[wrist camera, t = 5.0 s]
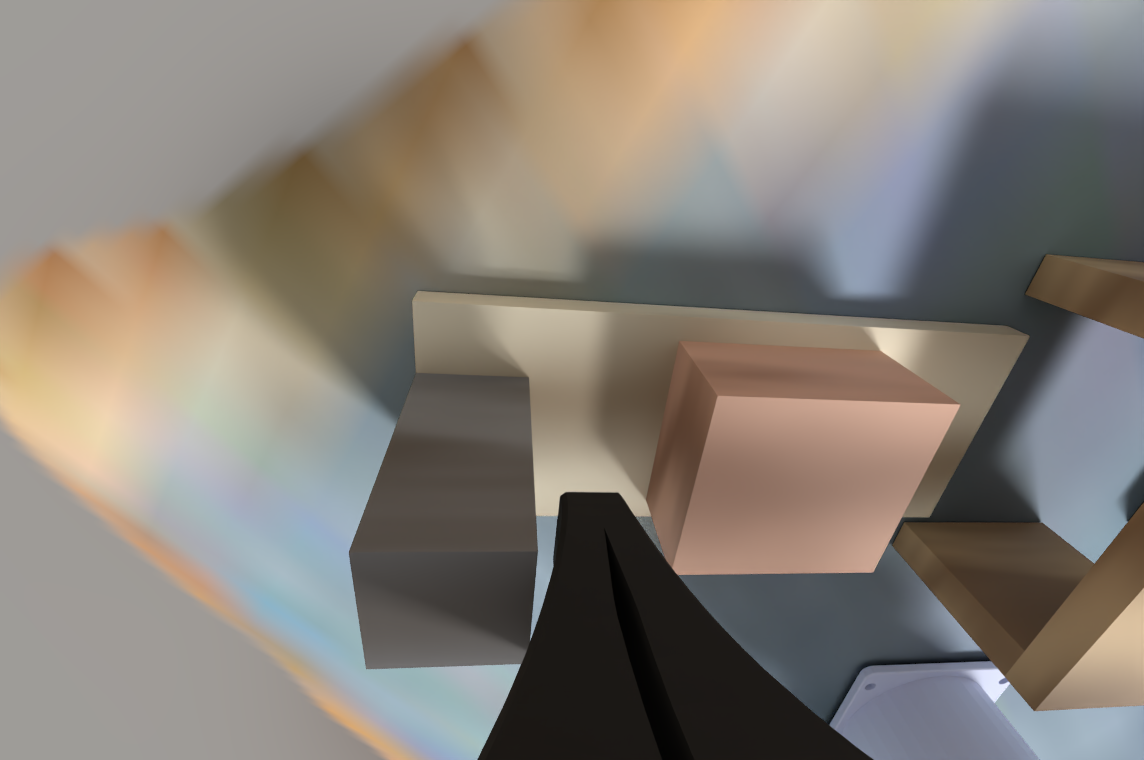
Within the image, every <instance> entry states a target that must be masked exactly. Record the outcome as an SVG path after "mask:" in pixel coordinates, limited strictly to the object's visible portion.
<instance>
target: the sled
mask: <svg viewBox="0 0 1144 760" xmlns="http://www.w3.org/2000/svg"><path fill="white" fill-rule="evenodd" d="M412 310H413V329H414V348H415V367H416V374H415V377H414V379H413V382H412V385H411V387H410V390H409V393H408V395H407V398H406V401H405V403H404V406H403V409H402V411H401V414H400V417H399V419H398V422H397V425H396V427H395V430H394V433H393V435H392V438H391V441H390V443H389V446H388V449H387V451H386V454H385V457H384V459H383V462H382V465H381V467H380V470H379V473H378V476H377V478H376V481H375V484H374V486H373V489H372V492H371V494H370V497H369V500H368V502H367V505H366V508H365V510H364V513H363V516H362V518H361V521H360V524H359V526H358V529H357V532H356V534H355V537H354V540H353V542H352V545H351V548H350V550H349V557H350V564H351V571H352V577H353V584H354V591H355V598H356V604H357V611H358V618H359V624H360V631H361V638H362V644H363V651H364V658H365V664H366V669H387V668H416V667H445V666H474V665H503V664H522V661H523V659H524V656H525V654H526V651H527V649H528V646H529V643H530V634H531V622H532V611H533V600H534V588H535V577H536V566H537V554H538V546H537V526H536V516H558V510H559V501H560V496H561V495H562V494H564V493H565V492H618V493H619V494H620V495H621V496H622V497H623V498H624V500H625V502H626V503H627V505H628V506H629V508H630V509H631V511H632V512H633V514H634V516H651V517H652V520H653V523H654V526H655V529H656V532H657V535H658V538H659V541H660V544H661V547H662V550H663V553H664V556H665V559H666V561H667V562H668V563H669V565H670V566H671V567H672V569H673V570H674V571H675V573H676V574H677V575H713V574H795V573H873V572H874V570H875V568H876V566H877V564H878V562H879V560H880V558H881V556H882V554H883V553H884V551H885V549H886V547H887V545H888V543H889V541H890V539H891V537H892V535H893V533H894V532H895V530H896V528H897V526H898V524H899V522H900V520H901V518H902V517H930V515H931V514H932V512H933V510H934V508H935V506H936V505H937V503H938V501H939V499H940V497H941V496H942V494H943V492H944V490H945V488H946V487H947V485H948V483H949V481H950V479H951V478H952V476H953V474H954V472H955V470H956V469H957V467H958V465H959V463H960V461H961V460H962V458H963V456H964V454H965V452H966V451H967V449H968V447H969V445H970V443H971V442H972V440H973V438H974V436H975V434H976V433H977V431H978V429H979V427H980V425H981V424H982V422H983V420H984V418H985V416H986V415H987V413H988V411H989V409H990V407H991V406H992V404H993V402H994V400H995V398H996V397H997V395H998V393H999V391H1000V389H1001V388H1002V386H1003V384H1004V382H1005V380H1006V379H1007V377H1008V375H1009V373H1010V371H1011V370H1012V368H1013V366H1014V364H1015V362H1016V361H1017V359H1018V357H1019V355H1020V354H1021V352H1022V350H1023V348H1024V346H1025V345H1026V343H1027V341H1028V339H1029V337H1030V336H1029V335H1026V334H1024V333H1022V332H1020V331H1018V330H1015V329H1013V328H1011V327H1009V326H1002V325H985V324H968V323H952V322H935V321H918V320H901V319H884V318H867V317H850V316H834V315H817V314H800V313H783V312H766V311H749V310H732V309H715V308H699V307H682V306H665V305H648V304H631V303H614V302H597V301H581V300H564V299H547V298H530V297H513V296H496V295H479V294H462V293H446V292H429V291H417V293H416V295H415V296H414V298H413V300H412Z"/></svg>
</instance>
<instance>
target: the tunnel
mask: <svg viewBox="0 0 1144 760" xmlns="http://www.w3.org/2000/svg"><path fill="white" fill-rule="evenodd" d="M1025 295H1028V296H1030V297H1033V298H1036V299H1038V300H1041V301H1044V302H1046V303H1049V304H1052V305H1055V306H1057V307H1060V308H1063V309H1065V310H1068V311H1071V312H1073V313H1076V314H1079V315H1082V316H1084V317H1087V318H1090V319H1092V320H1095V321H1098V322H1101V323H1103V324H1106V325H1109V326H1111V327H1114V328H1117V329H1119V330H1122V331H1125V332H1128V333H1130V334H1133V335H1136V336H1138V337H1141V338H1144V262H1135V261H1123V260H1110V259H1098V258H1086V257H1073V256H1061V255H1049V254H1046V256H1045V257H1044V259H1043V261H1042V263H1041V265H1040V267H1039V269H1038V271H1037V273H1036V274H1035V276H1034V278H1033V280H1032V282H1031V284H1030V286H1029V288H1028V290H1027V291H1026V293H1025ZM892 546H893V547H894V548H895V549H896V551H897V552H898V553H899V554H900V555H901V556H902V558H903V559H904V560H905V561H906V562H907V563H908V565H909V566H910V567H911V568H912V569H913V570H914V572H915V573H916V574H917V575H918V576H919V577H920V579H921V580H922V581H923V582H924V583H925V584H926V586H927V587H928V588H929V589H930V590H931V591H932V593H933V594H934V595H935V596H936V597H937V598H938V600H939V601H940V602H941V603H942V604H943V605H944V607H945V608H946V609H947V610H948V611H949V612H950V614H951V615H952V616H953V617H954V618H955V619H956V621H957V622H958V623H959V624H960V625H961V626H962V628H963V629H964V630H965V631H966V632H967V633H968V635H969V636H970V637H971V638H972V639H973V640H974V642H975V643H976V644H977V645H978V646H979V647H980V649H981V650H982V651H983V652H984V653H985V654H986V656H987V657H988V658H989V659H990V660H991V661H992V663H993V664H994V665H995V666H996V667H997V668H998V670H999V671H1000V672H1001V673H1002V674H1003V675H1004V677H1005V678H1006V679H1007V680H1008V681H1009V682H1010V684H1011V685H1012V686H1013V687H1014V688H1015V689H1016V691H1017V692H1018V693H1019V694H1020V695H1021V696H1022V698H1023V699H1024V700H1025V701H1026V702H1027V703H1028V705H1029V706H1030V707H1031V708H1032V709H1033V710H1034V711H1047V710H1066V709H1084V708H1103V707H1122V706H1140V705H1144V503H1143V504H1142V505H1141V506H1140V508H1139V509H1138V510H1137V511H1136V513H1135V514H1134V515H1133V516H1132V518H1131V519H1130V520H1129V521H1128V523H1127V524H1126V525H1125V526H1124V528H1123V529H1122V530H1121V531H1120V533H1119V534H1118V535H1117V536H1116V538H1115V539H1114V540H1113V541H1112V543H1111V544H1110V545H1109V546H1108V548H1107V549H1106V550H1105V551H1104V553H1103V554H1102V555H1101V556H1100V558H1099V559H1098V560H1097V561H1096V563H1095V564H1094V563H1093V562H1091V561H1090V560H1089V559H1088V558H1086V557H1085V556H1084V555H1083V554H1081V553H1080V552H1079V551H1077V550H1076V549H1075V548H1074V547H1072V546H1071V545H1070V544H1069V543H1067V542H1066V541H1065V540H1064V539H1062V538H1061V537H1060V536H1058V535H1057V534H1056V533H1055V532H1053V531H1052V530H1051V529H1050V528H1048V527H1047V526H1046V525H1045V524H1043V523H1002V522H904V524H903V526H902V528H901V530H900V531H899V533H898V535H897V537H896V539H895V541H894V543H893V545H892Z"/></svg>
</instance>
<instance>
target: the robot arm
mask: <svg viewBox="0 0 1144 760" xmlns="http://www.w3.org/2000/svg"><path fill="white" fill-rule="evenodd" d="M553 562H554V567H553V571H552V575H551V578H550V582H549V585H548V589H547V592H546V596H545V599H544V603H543V606H542V609H541V612H540V615H539V618H538V621H537V624H536V627H535V630H534V632H533V635H532V638H531V641H530V643H529V646H528V649H527V651H526V654H525V656H524V659H523V661H522V664H521V666H520V668H519V671H518V673H517V676H516V678H515V681H514V683H513V685H512V688H511V690H510V692H509V695H508V697H507V699H506V701H505V704H504V706H503V708H502V710H501V712H500V714H499V716H498V718H497V720H496V722H495V725H494V727H493V729H492V731H491V733H490V735H489V737H488V739H487V741H486V743H485V745H484V747H483V749H482V751H481V754H480V756H479V758H478V760H1040V759H1039V758H1038V757H1037V755H1036V754H1035V753H1034V752H1033V750H1032V749H1031V748H1030V747H1029V745H1028V744H1027V743H1026V742H1025V740H1024V739H1023V738H1022V737H1021V735H1020V734H1019V733H1018V732H1017V730H1016V729H1015V728H1014V727H1013V725H1012V724H1011V723H1010V722H1009V720H1008V719H1007V718H1006V717H1005V715H1004V714H1003V713H1002V712H1001V710H1000V709H999V708H998V707H997V705H996V704H995V701H996V700H997V699H998V698H999V696H1000V695H1001V694H1002V693H1003V691H1004V690H1005V689H1006V688H1007V687H1008V685H1009V684H1010V682H1009V681H1008V680H1007V679H1006V678H1005V677H1004V675H1003V674H1002V673H1001V672H1000V671H999V670H998V668H997V667H996V666H995V665H994V664H993V663H992V661H981V662H955V663H929V664H903V665H877V666H868V667H866V668H864V669H862V670H861V672H860V673H859V675H858V676H857V678H856V680H855V682H854V683H853V685H852V687H851V689H850V690H849V692H848V694H847V695H846V697H845V699H844V701H843V702H842V704H841V706H840V707H839V709H838V711H837V713H836V714H835V716H834V718H833V720H832V721H831V723H830V725H828V724H827V723H826V722H825V721H823V720H822V719H821V718H819V717H818V716H817V715H816V714H815V713H813V712H812V711H811V710H810V709H809V708H808V707H806V706H805V705H804V704H803V703H802V702H801V701H800V700H798V699H797V698H796V697H795V696H794V695H793V694H792V693H791V692H789V691H788V690H787V689H786V688H785V687H784V686H783V685H781V684H780V683H779V682H778V681H777V680H776V679H775V678H773V677H772V676H771V675H770V674H769V673H768V672H767V671H766V670H764V669H763V668H762V667H761V666H760V665H759V664H758V663H757V662H756V661H755V660H754V659H753V658H752V657H751V656H750V655H749V654H748V653H747V652H746V651H745V650H744V649H743V648H742V647H741V646H740V645H739V644H738V643H737V642H736V641H735V640H734V639H733V638H732V637H731V636H730V635H729V634H728V633H727V632H726V631H725V630H724V629H723V628H722V626H721V625H720V624H719V623H718V622H717V621H716V620H715V619H714V618H713V617H712V615H711V614H710V613H709V612H708V611H707V610H706V609H705V608H704V606H703V605H702V604H701V603H700V602H699V601H698V599H697V598H696V597H695V596H694V595H693V593H692V592H691V591H690V590H689V589H688V588H687V586H686V585H685V584H684V583H683V581H682V580H681V579H680V578H679V576H678V575H677V574H676V573H675V571H674V570H673V569H672V567H671V566H670V565H669V563H668V562H667V561H666V559H665V558H664V557H663V555H662V554H661V553H660V551H659V550H658V549H657V547H656V546H655V545H654V543H653V542H652V540H651V539H650V538H649V536H648V535H647V533H646V532H645V530H644V529H643V527H642V526H641V525H640V523H639V522H638V520H637V519H636V517H635V516H634V514H633V512H632V511H631V509H630V508H629V506H628V505H627V503H626V502H625V500H624V498H623V497H622V496H621V495H620V494H619V493H618V492H565V493H564V494H562V495H561V496H560V501H559V510H558V519H557V528H556V538H555V547H554V556H553Z"/></svg>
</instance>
